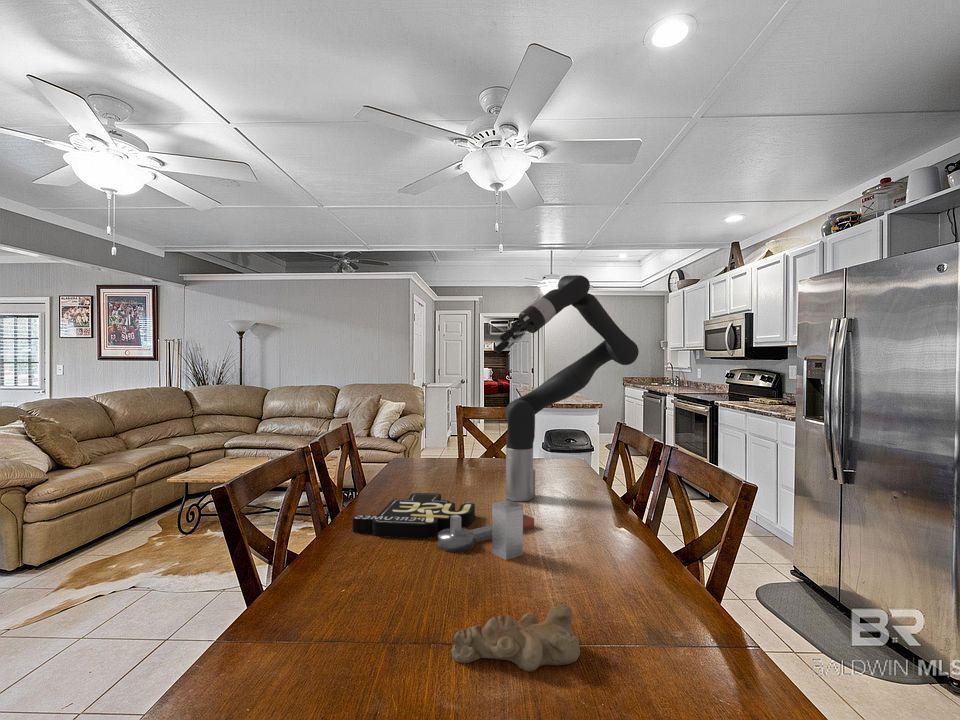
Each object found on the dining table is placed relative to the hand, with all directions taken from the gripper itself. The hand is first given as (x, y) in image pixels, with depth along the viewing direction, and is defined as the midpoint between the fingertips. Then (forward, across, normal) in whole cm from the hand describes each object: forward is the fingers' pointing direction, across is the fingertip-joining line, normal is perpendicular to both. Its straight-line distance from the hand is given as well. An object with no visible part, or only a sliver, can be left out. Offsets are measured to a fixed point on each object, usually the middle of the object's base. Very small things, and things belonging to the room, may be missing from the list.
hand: (498, 345), depth 143 cm
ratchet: (+37, +4, -38) cm, 53 cm away
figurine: (+52, -44, -49) cm, 84 cm away
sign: (+48, +20, -23) cm, 57 cm away
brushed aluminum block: (+38, -8, -43) cm, 58 cm away
